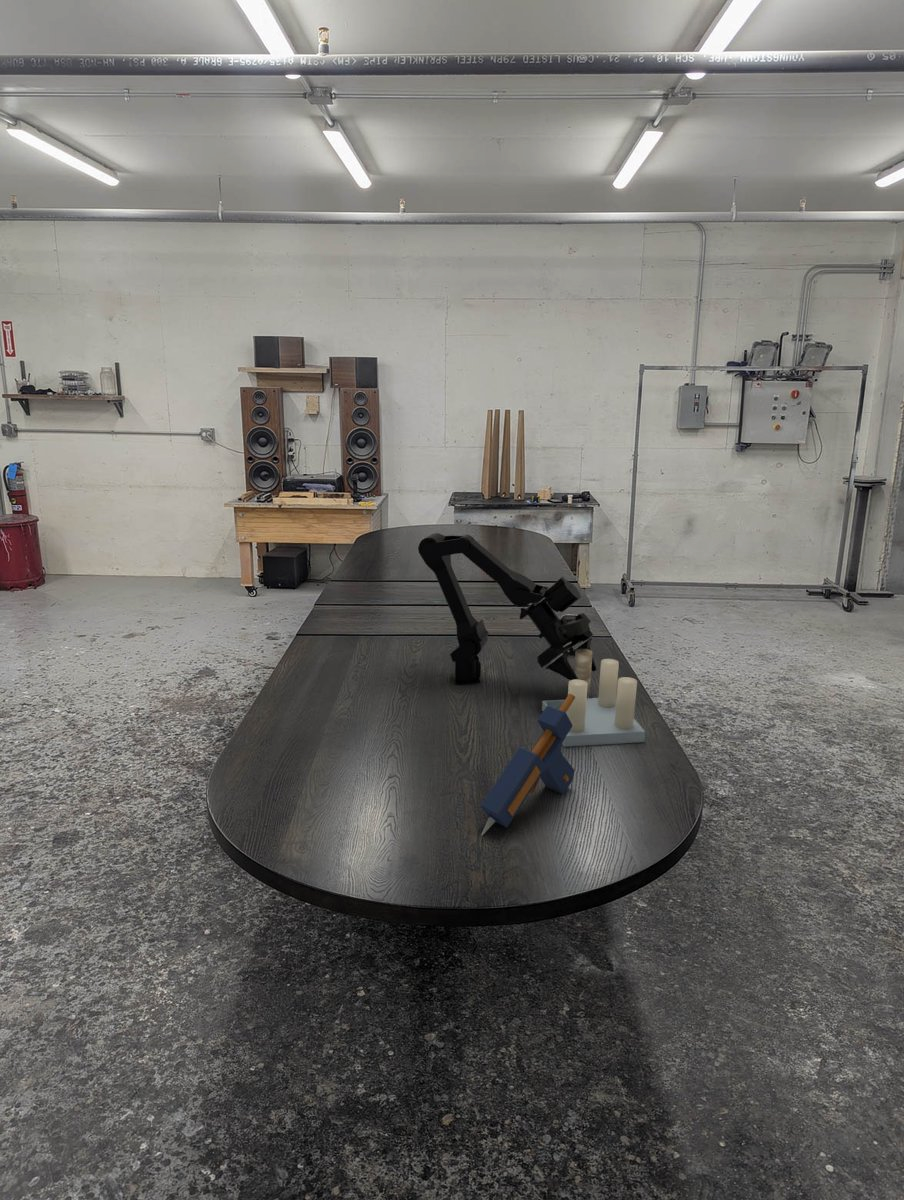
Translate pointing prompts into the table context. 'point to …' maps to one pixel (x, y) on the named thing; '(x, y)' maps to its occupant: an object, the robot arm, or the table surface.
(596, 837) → the table surface
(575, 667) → the loose leg
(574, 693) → the stool seat
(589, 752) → the table surface
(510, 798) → the glue gun
